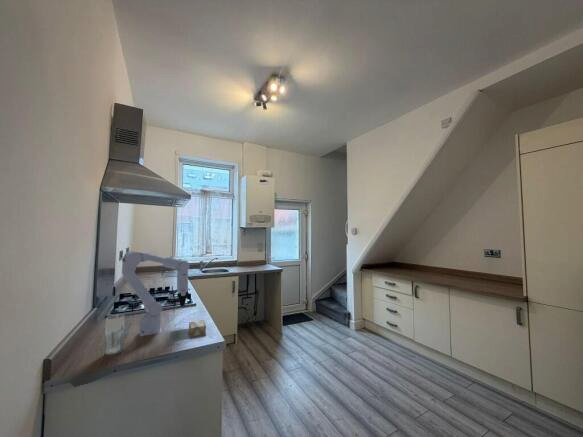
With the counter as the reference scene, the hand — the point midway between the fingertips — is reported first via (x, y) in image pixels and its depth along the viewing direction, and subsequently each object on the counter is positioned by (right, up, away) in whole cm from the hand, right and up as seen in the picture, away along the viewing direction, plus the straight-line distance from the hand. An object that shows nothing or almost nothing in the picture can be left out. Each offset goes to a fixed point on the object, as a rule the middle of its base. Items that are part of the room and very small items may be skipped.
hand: (182, 305), depth 138 cm
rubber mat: (+9, -10, -14) cm, 19 cm away
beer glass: (-16, -9, -32) cm, 36 cm away
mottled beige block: (+10, -7, -13) cm, 18 cm away
